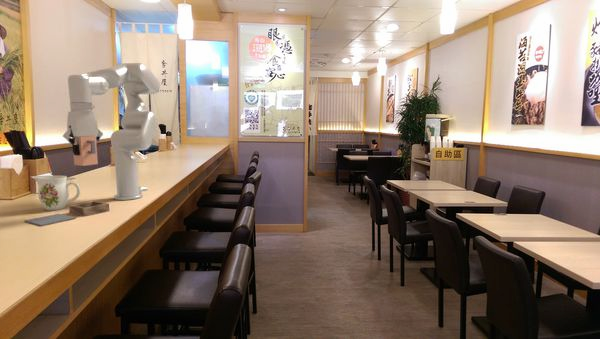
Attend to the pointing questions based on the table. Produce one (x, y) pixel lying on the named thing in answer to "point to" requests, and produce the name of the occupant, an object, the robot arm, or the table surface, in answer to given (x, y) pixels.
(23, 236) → the table surface
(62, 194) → the pitcher
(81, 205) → the frame
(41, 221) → the rubber mat
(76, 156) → the peach block with tab
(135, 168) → the robot arm
